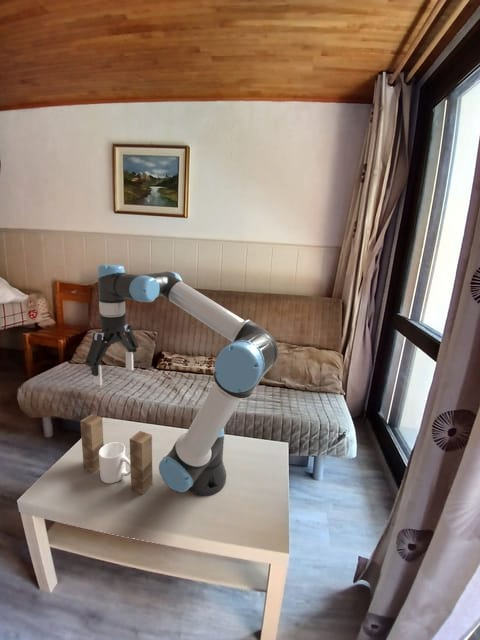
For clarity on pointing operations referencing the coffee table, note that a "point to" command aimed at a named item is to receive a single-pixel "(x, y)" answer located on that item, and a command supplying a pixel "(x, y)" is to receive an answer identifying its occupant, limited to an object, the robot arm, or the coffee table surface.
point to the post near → (141, 462)
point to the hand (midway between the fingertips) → (114, 376)
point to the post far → (91, 441)
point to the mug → (113, 462)
